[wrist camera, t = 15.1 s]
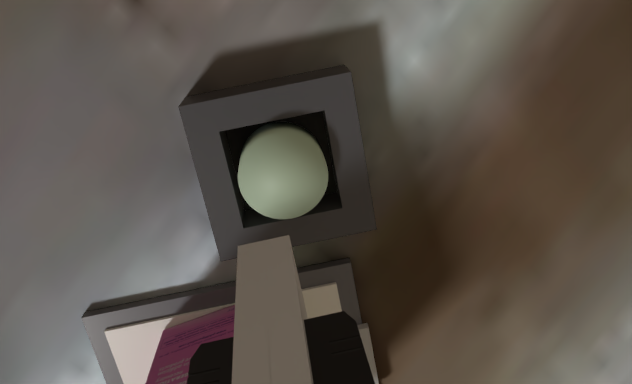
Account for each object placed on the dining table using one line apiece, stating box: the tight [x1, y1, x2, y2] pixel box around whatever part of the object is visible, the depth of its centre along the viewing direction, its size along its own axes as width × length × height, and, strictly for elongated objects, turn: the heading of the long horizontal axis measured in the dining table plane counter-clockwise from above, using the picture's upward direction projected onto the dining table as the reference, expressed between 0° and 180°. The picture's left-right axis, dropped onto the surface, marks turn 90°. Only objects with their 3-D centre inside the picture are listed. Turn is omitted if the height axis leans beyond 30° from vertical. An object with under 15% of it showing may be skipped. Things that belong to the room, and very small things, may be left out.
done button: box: [238, 122, 328, 219], centre depth 28 cm, size 4×4×2 cm
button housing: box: [179, 65, 377, 261], centre depth 29 cm, size 8×8×2 cm
